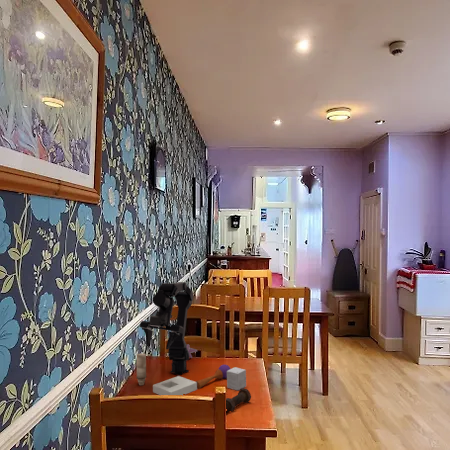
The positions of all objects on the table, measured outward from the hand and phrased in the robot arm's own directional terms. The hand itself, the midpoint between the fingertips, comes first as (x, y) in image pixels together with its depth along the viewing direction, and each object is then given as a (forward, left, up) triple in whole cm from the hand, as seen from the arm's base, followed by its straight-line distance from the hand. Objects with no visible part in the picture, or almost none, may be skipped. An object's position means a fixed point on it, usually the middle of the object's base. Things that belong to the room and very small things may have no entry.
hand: (157, 347), depth 171 cm
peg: (0, -12, -18) cm, 22 cm away
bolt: (-10, +34, -19) cm, 40 cm away
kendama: (-23, +10, -19) cm, 32 cm away
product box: (-25, +22, -19) cm, 38 cm away
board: (-5, +5, -18) cm, 20 cm away
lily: (-35, -23, -19) cm, 46 cm away
